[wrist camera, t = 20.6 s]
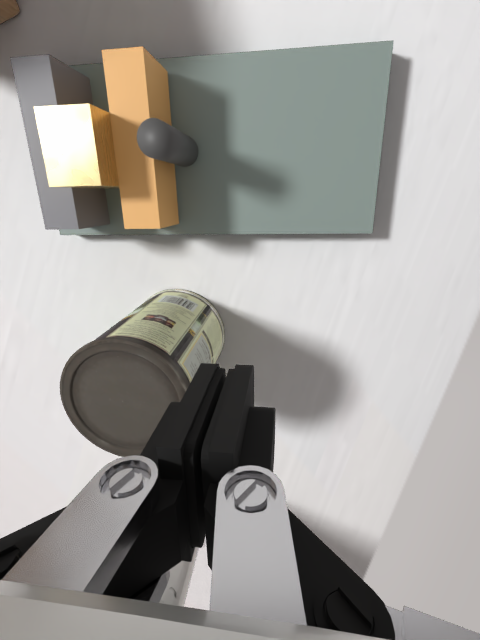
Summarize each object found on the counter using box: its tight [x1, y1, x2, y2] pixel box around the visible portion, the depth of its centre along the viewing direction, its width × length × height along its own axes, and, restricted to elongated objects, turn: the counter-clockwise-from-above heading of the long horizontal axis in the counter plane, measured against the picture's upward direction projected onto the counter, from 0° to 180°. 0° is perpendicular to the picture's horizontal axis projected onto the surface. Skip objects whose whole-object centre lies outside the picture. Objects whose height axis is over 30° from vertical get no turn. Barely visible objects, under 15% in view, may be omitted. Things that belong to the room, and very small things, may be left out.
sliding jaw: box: [102, 46, 198, 229], centre depth 26 cm, size 12×5×8 cm, turn 1°
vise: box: [10, 40, 394, 235], centre depth 28 cm, size 14×30×7 cm, turn 91°
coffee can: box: [60, 289, 225, 457], centre depth 32 cm, size 10×10×14 cm
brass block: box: [34, 104, 119, 189], centre depth 27 cm, size 5×4×8 cm
